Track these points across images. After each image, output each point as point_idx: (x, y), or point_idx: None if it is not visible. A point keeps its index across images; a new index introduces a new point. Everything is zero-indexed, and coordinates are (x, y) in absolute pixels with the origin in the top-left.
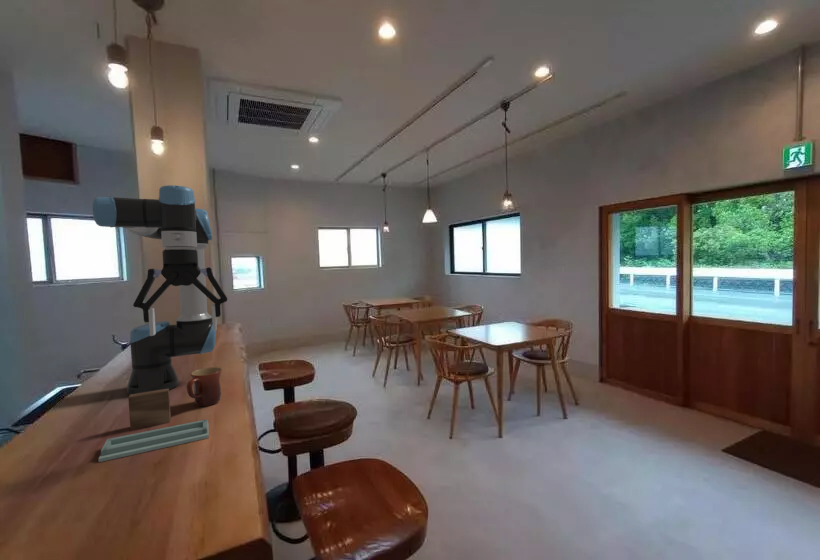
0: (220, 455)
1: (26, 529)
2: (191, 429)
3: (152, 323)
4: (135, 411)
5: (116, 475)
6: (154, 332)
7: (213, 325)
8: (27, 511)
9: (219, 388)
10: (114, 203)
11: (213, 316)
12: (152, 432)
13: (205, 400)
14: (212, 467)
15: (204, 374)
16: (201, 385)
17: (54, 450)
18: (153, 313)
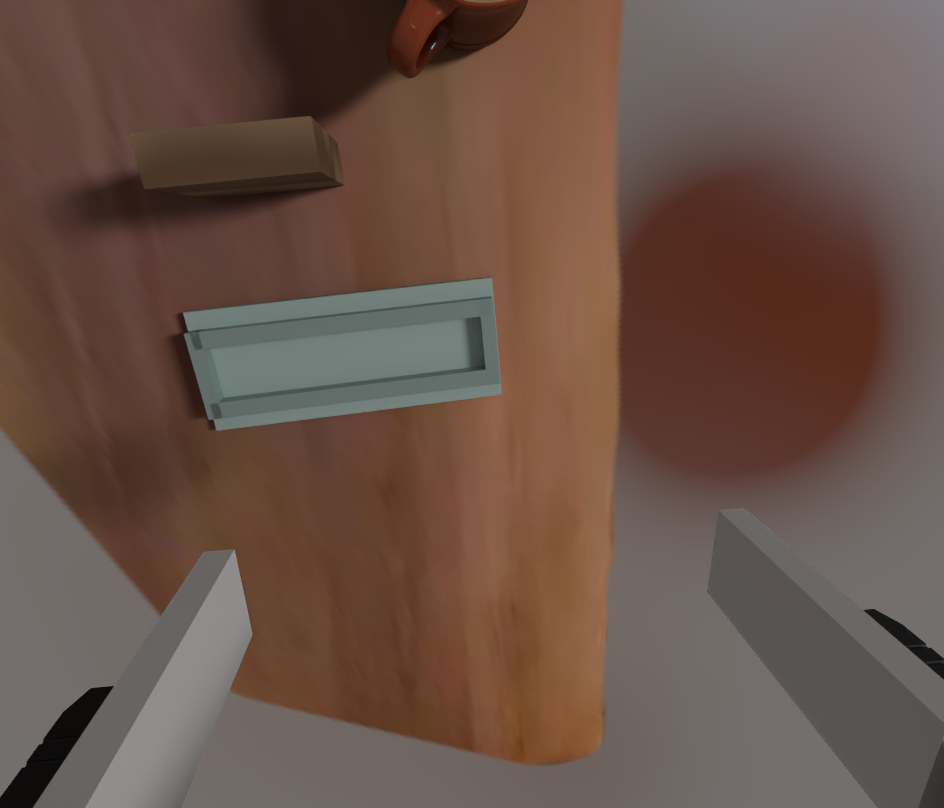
0: (537, 507)
1: None
2: (443, 327)
3: (206, 740)
4: (202, 192)
5: (303, 513)
6: (237, 613)
7: (740, 621)
8: None
9: None
10: None
11: (805, 700)
12: (323, 334)
13: (464, 46)
14: (521, 555)
15: None
16: (454, 9)
17: (11, 277)
18: (139, 803)
